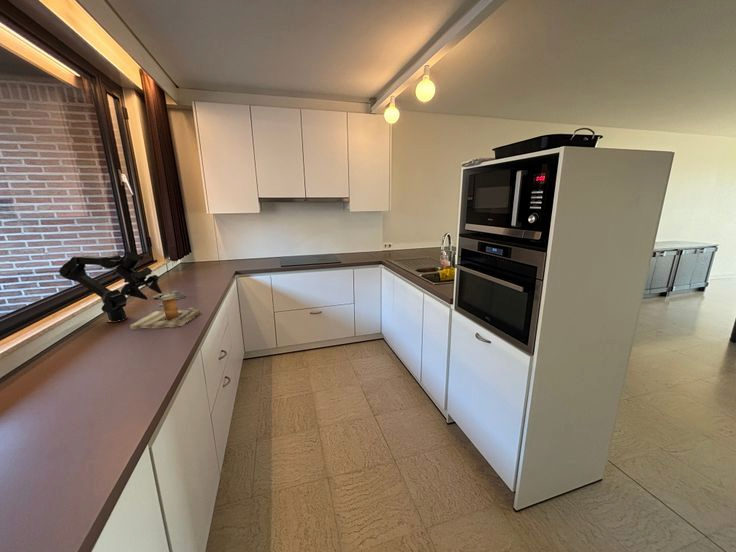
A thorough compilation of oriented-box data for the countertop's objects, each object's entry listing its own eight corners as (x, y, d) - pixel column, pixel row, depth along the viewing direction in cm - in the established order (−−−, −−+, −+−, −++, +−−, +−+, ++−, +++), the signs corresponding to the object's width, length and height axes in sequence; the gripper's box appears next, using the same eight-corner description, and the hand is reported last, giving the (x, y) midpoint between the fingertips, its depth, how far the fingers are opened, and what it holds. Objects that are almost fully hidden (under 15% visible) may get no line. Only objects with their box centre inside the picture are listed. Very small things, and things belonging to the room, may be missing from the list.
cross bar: (172, 322, 146) (171, 319, 146) (190, 310, 162) (189, 307, 162) (176, 322, 147) (175, 319, 146) (193, 310, 162) (193, 307, 162)
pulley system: (178, 293, 203) (151, 298, 193) (178, 287, 202) (150, 291, 192) (190, 304, 184) (160, 309, 174) (189, 297, 183) (159, 302, 173)
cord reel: (163, 322, 153) (157, 297, 150) (175, 317, 159) (170, 293, 155) (171, 323, 151) (165, 298, 147) (183, 318, 156) (178, 294, 153)
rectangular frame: (130, 329, 146) (129, 325, 145) (155, 315, 163) (154, 311, 163) (181, 326, 146) (180, 323, 146) (200, 313, 164) (199, 309, 163)
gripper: (120, 267, 139) (147, 290, 141) (151, 259, 157) (175, 280, 159) (108, 284, 142) (135, 306, 144) (141, 274, 160) (165, 294, 162)
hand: (154, 296), depth 152 cm, fingers open, 9 cm apart
